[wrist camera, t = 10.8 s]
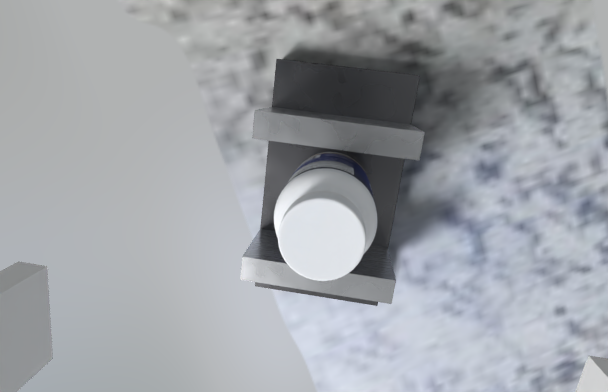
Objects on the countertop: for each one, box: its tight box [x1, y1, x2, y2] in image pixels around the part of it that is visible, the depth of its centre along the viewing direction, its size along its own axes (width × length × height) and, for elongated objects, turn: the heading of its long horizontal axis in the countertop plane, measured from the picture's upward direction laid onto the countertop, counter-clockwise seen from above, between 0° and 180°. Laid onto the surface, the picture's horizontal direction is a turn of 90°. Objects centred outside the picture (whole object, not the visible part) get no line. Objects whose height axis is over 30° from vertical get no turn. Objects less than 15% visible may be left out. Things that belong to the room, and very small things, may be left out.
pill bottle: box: [274, 152, 377, 281], centre depth 23 cm, size 5×5×10 cm
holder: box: [241, 59, 425, 306], centre depth 26 cm, size 16×9×6 cm, turn 173°
